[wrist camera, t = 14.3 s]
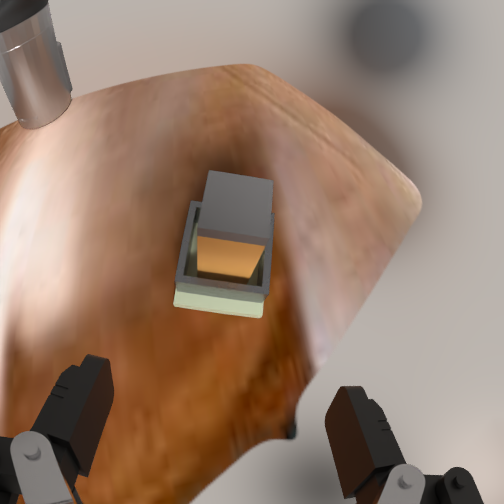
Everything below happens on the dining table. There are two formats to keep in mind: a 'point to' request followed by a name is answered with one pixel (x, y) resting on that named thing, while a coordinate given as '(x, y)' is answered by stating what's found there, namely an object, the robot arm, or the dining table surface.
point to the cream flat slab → (214, 302)
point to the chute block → (233, 226)
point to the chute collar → (214, 286)
